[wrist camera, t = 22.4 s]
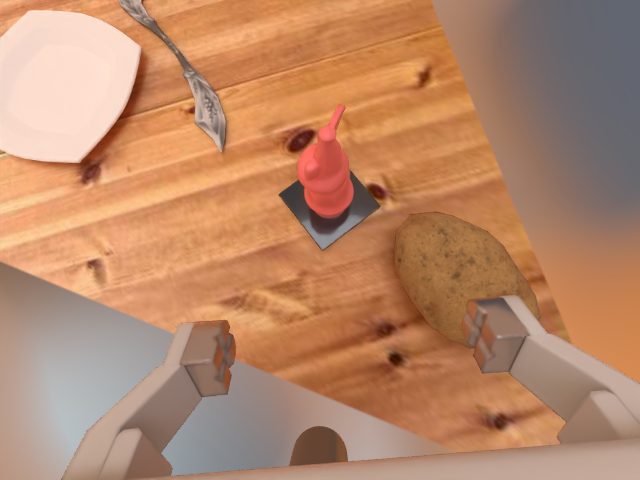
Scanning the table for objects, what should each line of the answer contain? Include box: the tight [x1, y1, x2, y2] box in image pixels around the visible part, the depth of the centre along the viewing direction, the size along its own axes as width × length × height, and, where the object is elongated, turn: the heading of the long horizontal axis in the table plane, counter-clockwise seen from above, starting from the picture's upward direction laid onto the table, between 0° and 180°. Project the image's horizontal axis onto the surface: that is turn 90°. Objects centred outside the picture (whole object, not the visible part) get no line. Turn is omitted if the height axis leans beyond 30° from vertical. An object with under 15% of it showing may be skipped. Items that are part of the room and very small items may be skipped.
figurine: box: [297, 105, 354, 218], centre depth 27 cm, size 5×5×15 cm
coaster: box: [279, 171, 380, 251], centre depth 35 cm, size 8×8×1 cm
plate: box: [0, 10, 142, 163], centre depth 38 cm, size 19×19×2 cm
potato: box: [394, 212, 540, 348], centre depth 29 cm, size 10×14×8 cm
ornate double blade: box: [119, 0, 226, 152], centre depth 39 cm, size 32×1×5 cm
